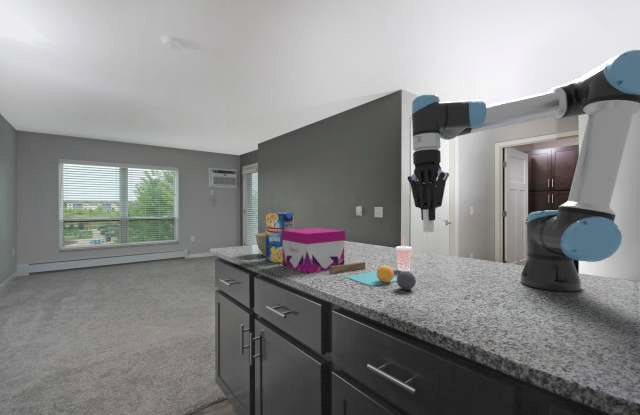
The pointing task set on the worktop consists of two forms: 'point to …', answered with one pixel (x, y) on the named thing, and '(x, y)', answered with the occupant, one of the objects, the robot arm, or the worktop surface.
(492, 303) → the worktop surface
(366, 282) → the teal mark
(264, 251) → the planter bowl
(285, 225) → the beverage box
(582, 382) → the worktop surface
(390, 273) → the orange ball
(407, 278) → the gray ball
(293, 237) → the decorative box
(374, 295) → the worktop surface
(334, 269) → the wall
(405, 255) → the beverage cup
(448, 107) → the robot arm
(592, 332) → the worktop surface
